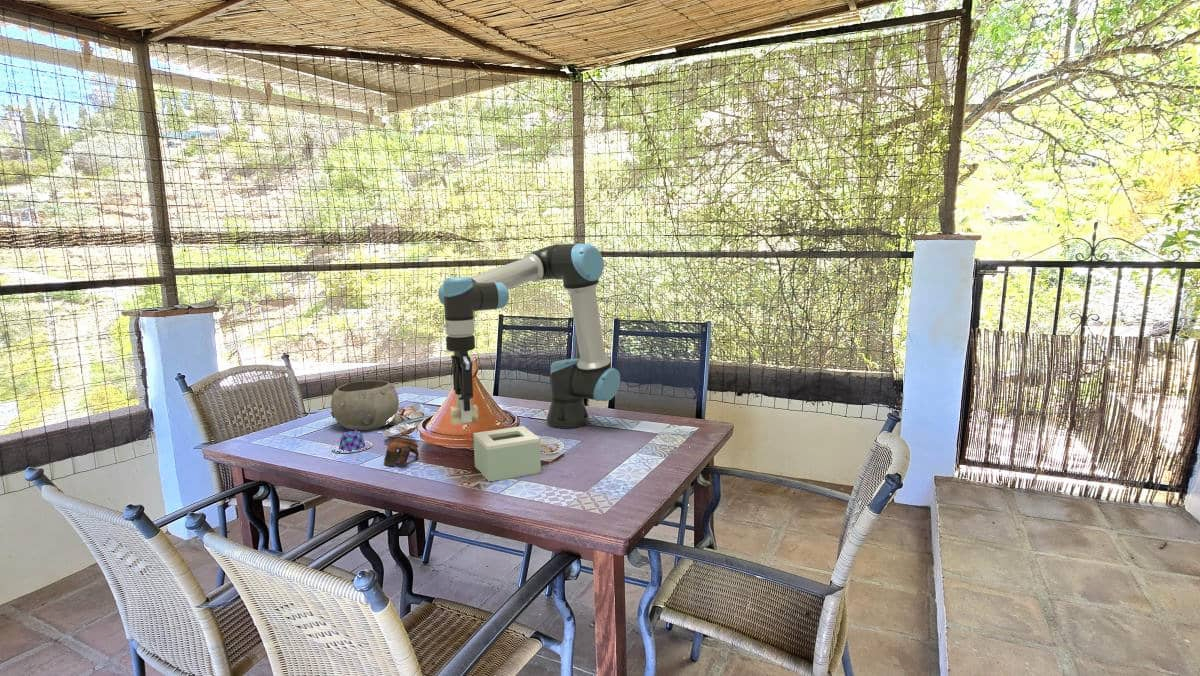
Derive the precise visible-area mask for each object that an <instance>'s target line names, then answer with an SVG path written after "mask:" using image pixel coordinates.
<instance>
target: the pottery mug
mask: <svg viewBox="0 0 1200 676" xmlns="http://www.w3.org/2000/svg"><path fill="white" fill-rule="evenodd" d="M418 447H419V444H417V443H415V442H413V441H411V440H406V439H403V438H398V437H397V438H396V437H395V438H394V439H393V442H391V443H390V444H389V445H388V446H387V449H386V451H385V452H386V453H385V455H384V458H383V459H384V460H383V465H386V466H389V467H392V466H396V467H397V463H398V464H400V465H405V464H407V461H408V457H409V455H410V453H413V454H415V460H418V459H419V449H418ZM397 450H398V451H397Z"/></svg>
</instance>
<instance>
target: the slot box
mask: <svg viewBox="0 0 1200 676" xmlns="http://www.w3.org/2000/svg"><path fill="white" fill-rule="evenodd" d="M472 434H473V450H474V451H473V453H474V455H473V457H474V468H476V470H477V471H478V470H479V471H480V472H481V473H480V472H479V471H478V472H479V473H480V474H481V475H482V476H483V478H484V477H485V478H486V479H487V480H488V481H487V480H486V479H485V478H484V479H485V480H486V481H487V483H490V482H489V481H493V482H496V481H495V480H499V481H503V480H502V479H504V480H509V479H508V478H510V479H515V478H519V477H520V476H521V477H525V476H530V475H536V474H537V475H538V474H541V473H542V471H541V470H542V467H541V466H542V465H541V438H540V437H539V436H537V435H536V434H534V433H533V432H532V431H530V430H529V429H528V428H527V427H525V426H524V425H520V426H513V427H506V428H499V429H494V430H493V429H492V430H484V431H478V432H473V433H472ZM514 477H515V478H514Z"/></svg>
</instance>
